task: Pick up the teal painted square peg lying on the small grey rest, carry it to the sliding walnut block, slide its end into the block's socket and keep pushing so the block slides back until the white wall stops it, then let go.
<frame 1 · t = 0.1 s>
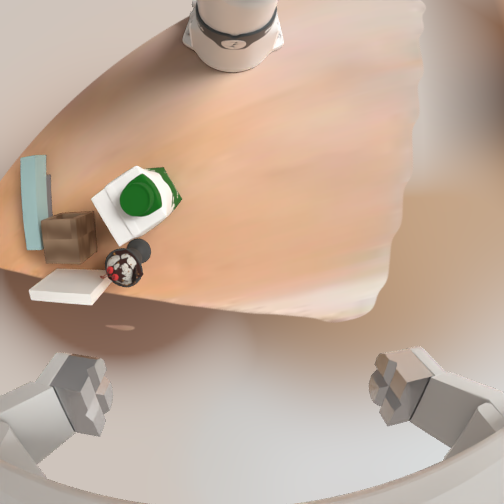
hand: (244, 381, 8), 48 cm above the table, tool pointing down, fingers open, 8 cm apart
block: (69, 236, 48), point 4 cm above the table, slide at 0.0 cm
rest: (46, 199, 50), on the table
sundae: (138, 250, 55), on the table
milk carton: (156, 193, 52), on the table
wall: (84, 273, 55), on the table
peg: (39, 200, 47), point 2 cm above the table, touching rest
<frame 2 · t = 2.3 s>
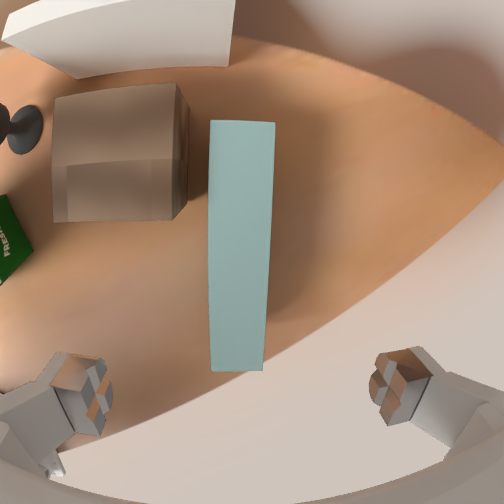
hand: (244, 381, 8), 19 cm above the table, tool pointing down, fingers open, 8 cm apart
block: (126, 155, 19), point 4 cm above the table, slide at 0.0 cm
sundae: (25, 129, 21), on the table
milk carton: (3, 239, 23), on the table
wall: (148, 59, 21), on the table
peg: (235, 245, 23), point 2 cm above the table, touching rest
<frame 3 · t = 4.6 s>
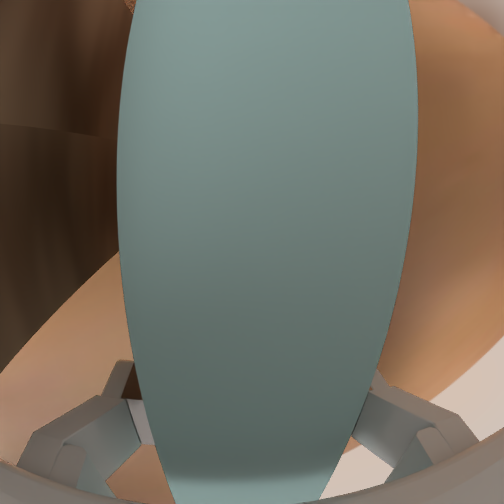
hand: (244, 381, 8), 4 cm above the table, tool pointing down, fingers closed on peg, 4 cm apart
peg: (241, 358, 9), point 2 cm above the table, touching gripper, rest
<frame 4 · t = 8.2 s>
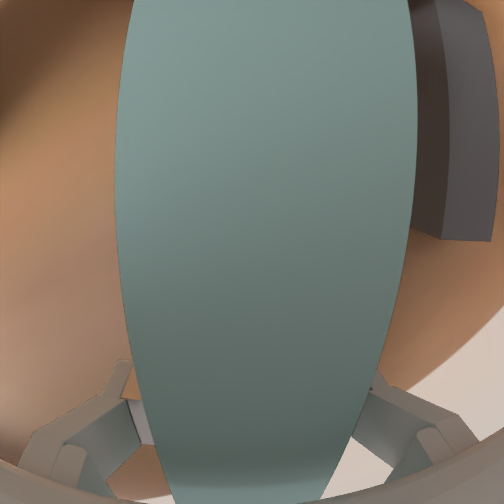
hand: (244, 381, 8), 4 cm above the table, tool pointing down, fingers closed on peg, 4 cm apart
rest: (436, 110, 10), on the table
peg: (241, 358, 9), point 3 cm above the table, touching gripper
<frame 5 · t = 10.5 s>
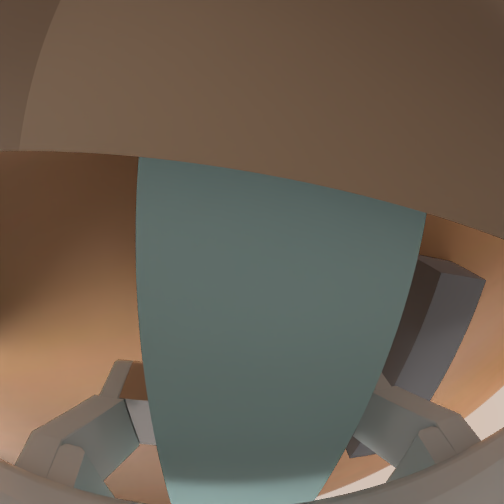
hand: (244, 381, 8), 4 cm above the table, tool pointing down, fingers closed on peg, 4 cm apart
block: (316, 9, 5), point 4 cm above the table, slide at 3.9 cm, touching peg
rest: (394, 353, 13), on the table
peg: (242, 360, 9), point 3 cm above the table, touching block, gripper
when the fingers open (4 cm above the table, at t = 11.8 s): peg drops 1 cm, resting on block.
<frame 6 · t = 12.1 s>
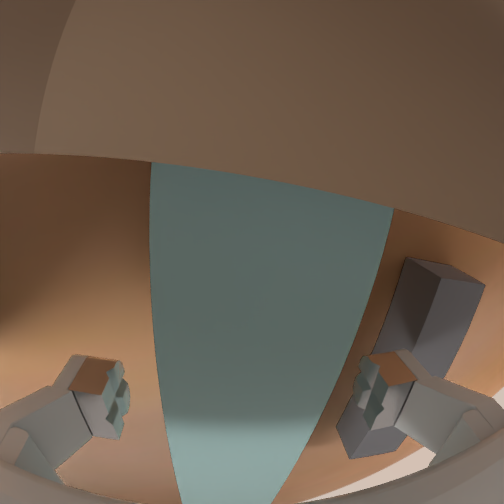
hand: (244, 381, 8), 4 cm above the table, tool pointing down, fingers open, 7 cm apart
block: (322, 12, 5), point 4 cm above the table, slide at 4.0 cm, touching peg, wall
rest: (394, 356, 13), on the table
peg: (237, 335, 10), point 1 cm above the table, tilted 7°, touching block
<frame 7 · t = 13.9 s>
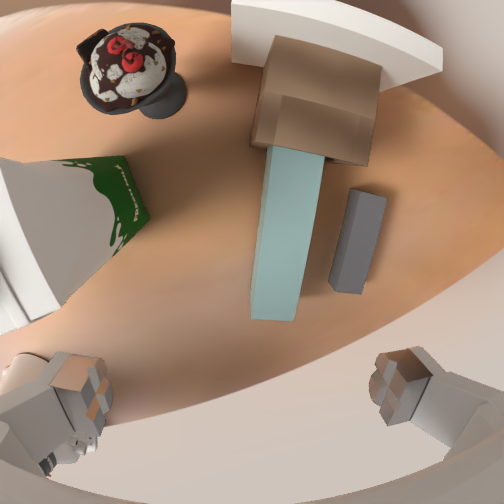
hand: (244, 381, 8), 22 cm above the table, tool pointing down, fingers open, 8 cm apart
block: (309, 106, 21), point 4 cm above the table, slide at 4.0 cm, touching peg, wall
rest: (352, 238, 30), on the table
sundae: (161, 94, 24), on the table
milk carton: (109, 201, 27), on the table
wall: (306, 67, 24), on the table
peg: (281, 214, 27), point 1 cm above the table, tilted 7°, touching block
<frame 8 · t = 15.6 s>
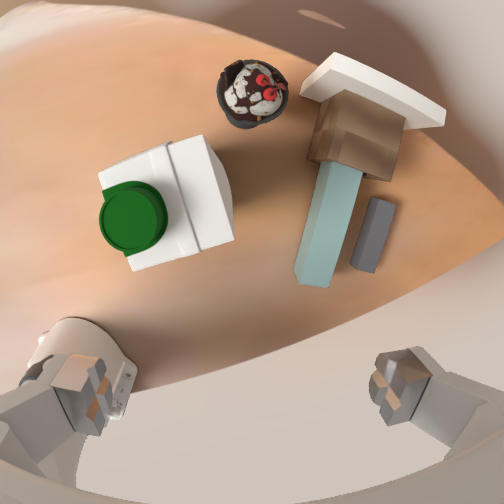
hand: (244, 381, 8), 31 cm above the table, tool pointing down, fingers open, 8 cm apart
block: (354, 137, 32), point 4 cm above the table, slide at 4.0 cm, touching peg, wall
rest: (369, 233, 40), on the table
sundae: (245, 110, 34), on the table
milk carton: (192, 186, 36), on the table
wall: (349, 106, 35), on the table
peg: (324, 209, 38), point 1 cm above the table, tilted 7°, touching block
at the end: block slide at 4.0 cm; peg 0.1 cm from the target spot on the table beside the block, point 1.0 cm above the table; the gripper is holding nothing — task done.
